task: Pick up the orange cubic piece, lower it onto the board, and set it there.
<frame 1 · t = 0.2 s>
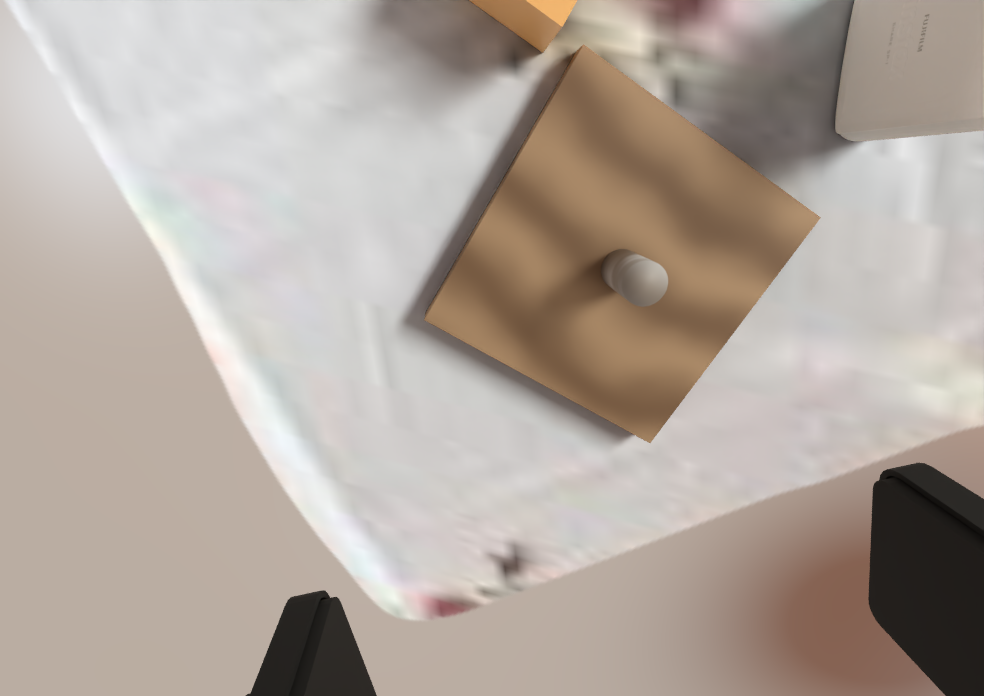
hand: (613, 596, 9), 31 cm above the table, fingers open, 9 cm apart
photo printer: (866, 59, 35), on the table
board: (612, 264, 38), on the table
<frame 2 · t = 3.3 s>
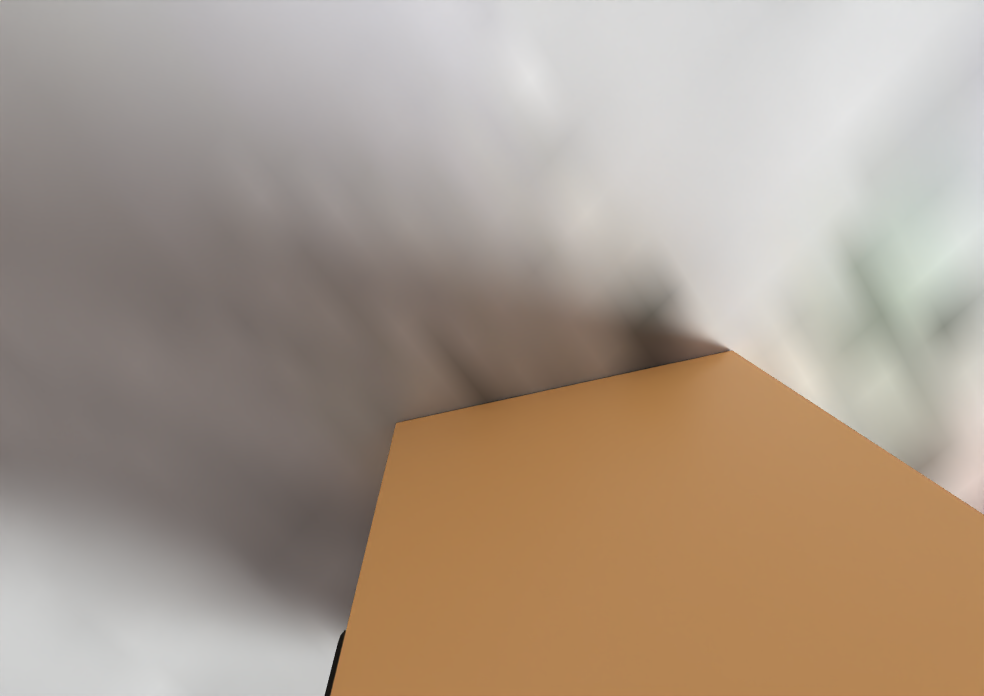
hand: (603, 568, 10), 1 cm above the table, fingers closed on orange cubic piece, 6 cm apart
orange cubic piece: (588, 526, 11), on the table, touching gripper
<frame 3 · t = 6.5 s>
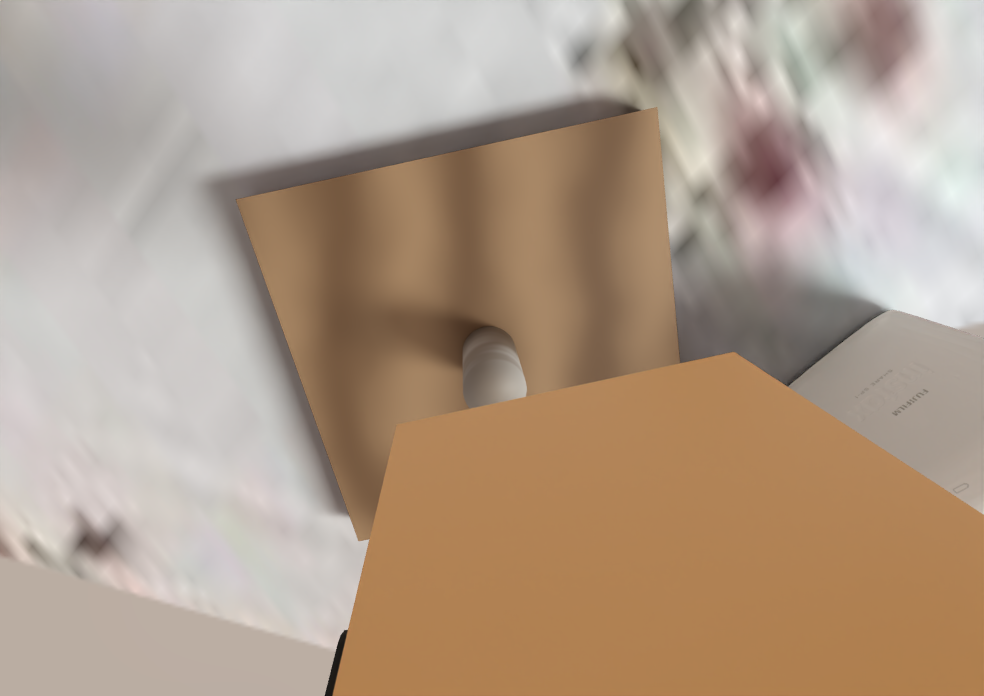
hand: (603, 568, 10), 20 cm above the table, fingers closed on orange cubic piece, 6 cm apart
orange cubic piece: (589, 528, 11), point 19 cm above the table, touching gripper
photo printer: (833, 376, 32), on the table
board: (487, 339, 30), on the table
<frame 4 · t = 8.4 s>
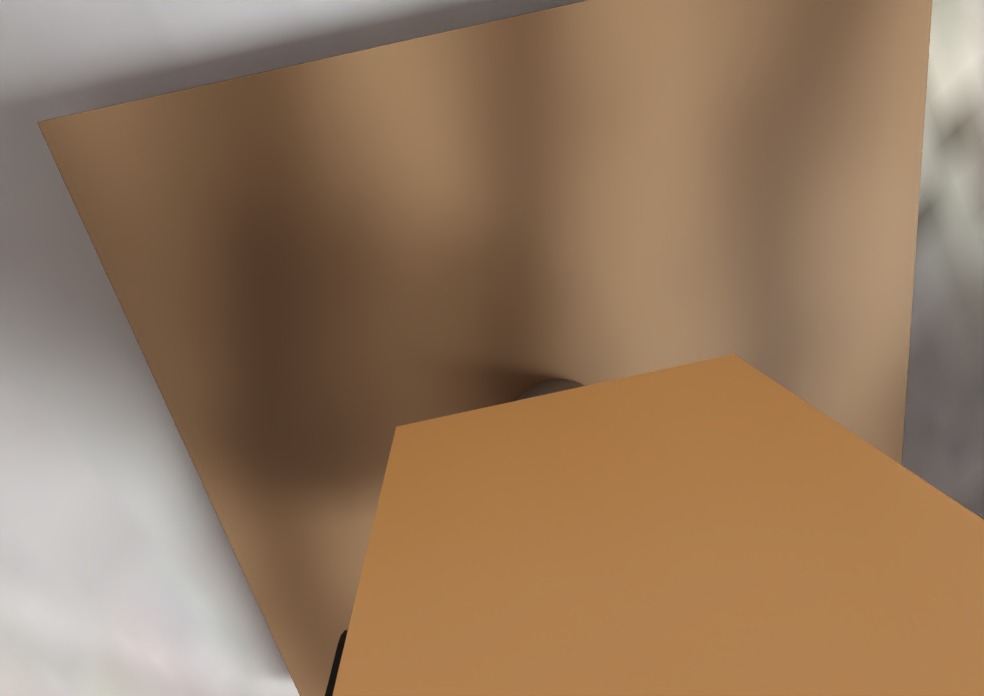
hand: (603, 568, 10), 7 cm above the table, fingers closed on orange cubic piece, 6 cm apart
orange cubic piece: (588, 530, 11), point 6 cm above the table, touching gripper
board: (545, 396, 17), on the table
when the fingers open (5 cm above the table, at t = 9.8 s): orange cubic piece drops 1 cm, resting on board.
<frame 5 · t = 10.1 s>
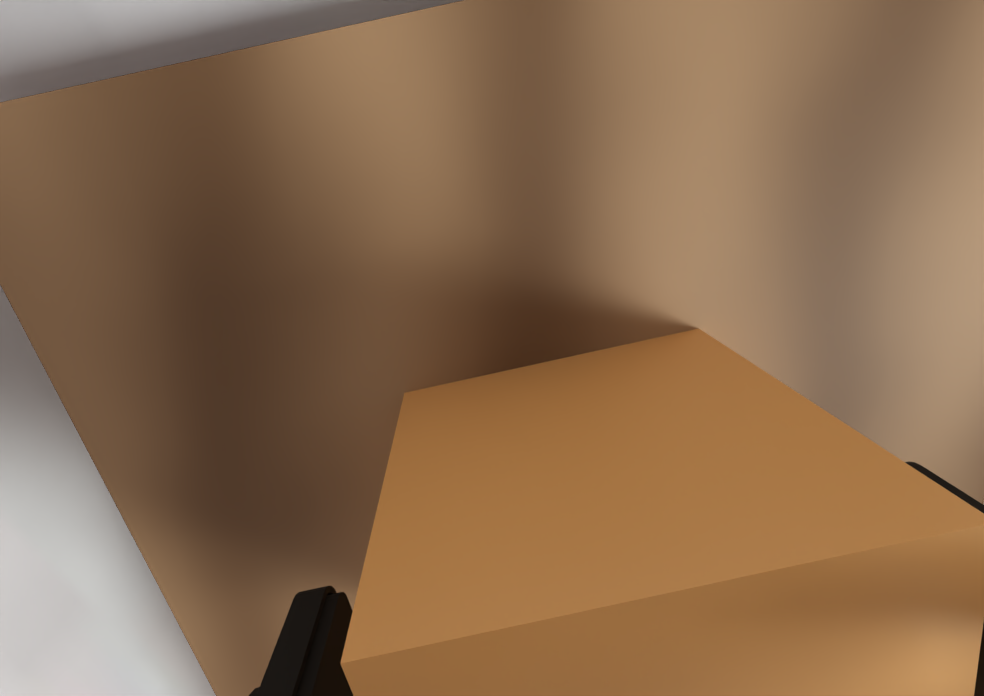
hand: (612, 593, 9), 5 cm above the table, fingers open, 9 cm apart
orange cubic piece: (574, 486, 12), point 2 cm above the table, touching board
board: (557, 444, 14), on the table
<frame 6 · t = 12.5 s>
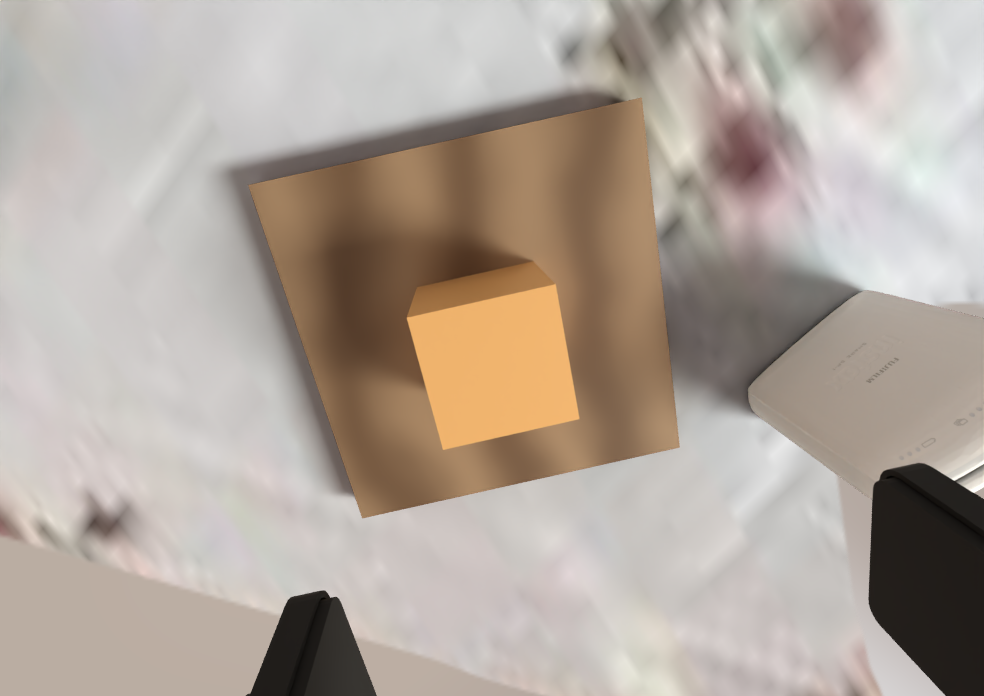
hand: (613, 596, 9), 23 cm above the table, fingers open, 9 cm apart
orange cubic piece: (487, 330, 29), point 2 cm above the table, touching board
photo printer: (813, 355, 34), on the table
board: (485, 321, 31), on the table
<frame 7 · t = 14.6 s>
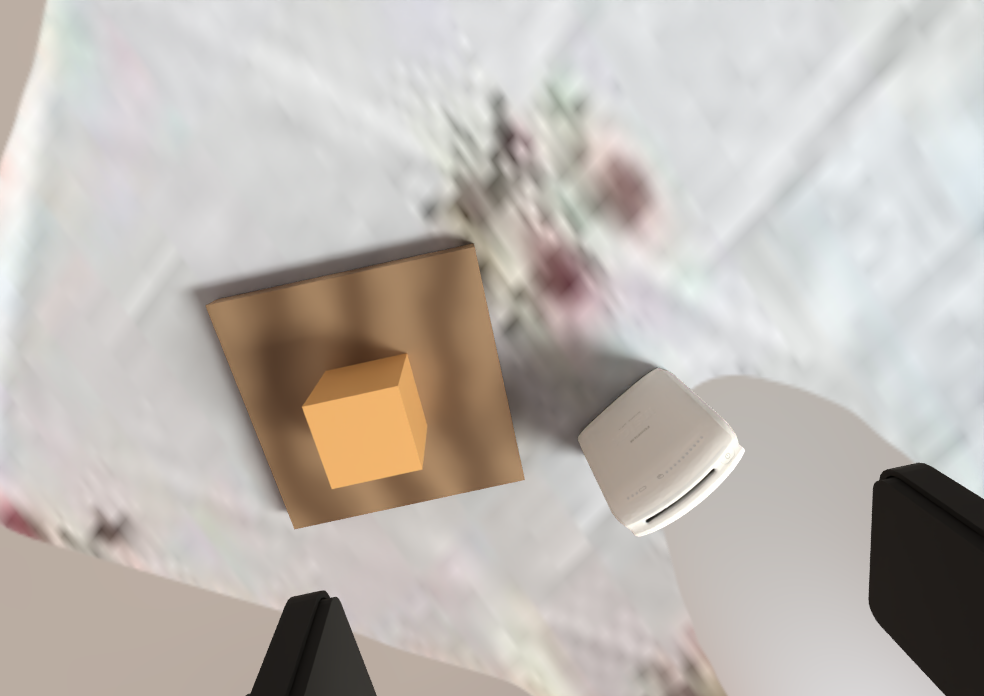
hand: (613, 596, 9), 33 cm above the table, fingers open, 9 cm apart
orange cubic piece: (377, 399, 41), point 2 cm above the table, touching board
photo printer: (627, 412, 46), on the table
board: (380, 389, 43), on the table
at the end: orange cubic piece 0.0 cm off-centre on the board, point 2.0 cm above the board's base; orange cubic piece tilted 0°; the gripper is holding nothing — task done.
